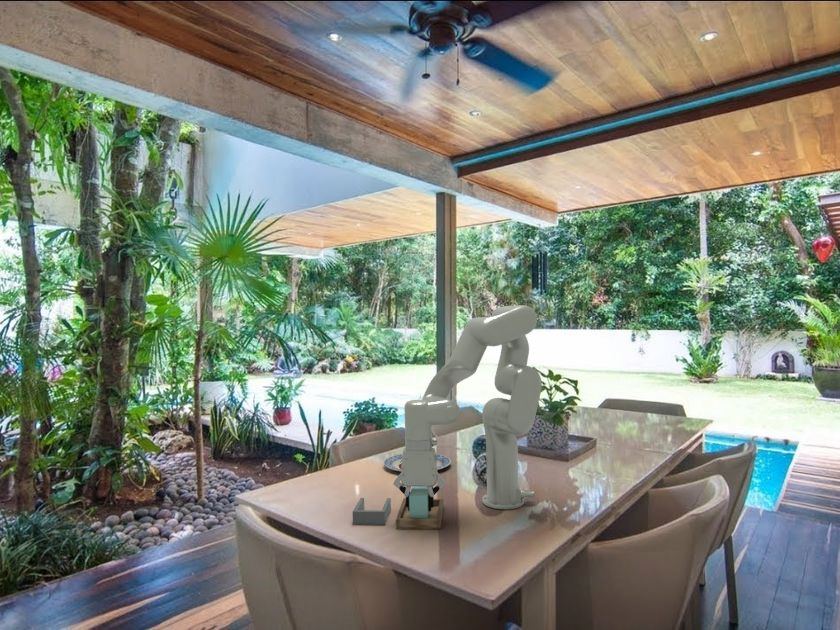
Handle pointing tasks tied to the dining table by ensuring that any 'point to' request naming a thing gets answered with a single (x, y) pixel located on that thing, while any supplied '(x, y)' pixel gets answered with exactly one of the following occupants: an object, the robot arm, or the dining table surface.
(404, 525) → the tray
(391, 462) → the ceramic plate
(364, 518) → the bay
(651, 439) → the dining table surface
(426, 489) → the mint green block
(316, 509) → the dining table surface
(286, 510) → the dining table surface
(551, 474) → the dining table surface
